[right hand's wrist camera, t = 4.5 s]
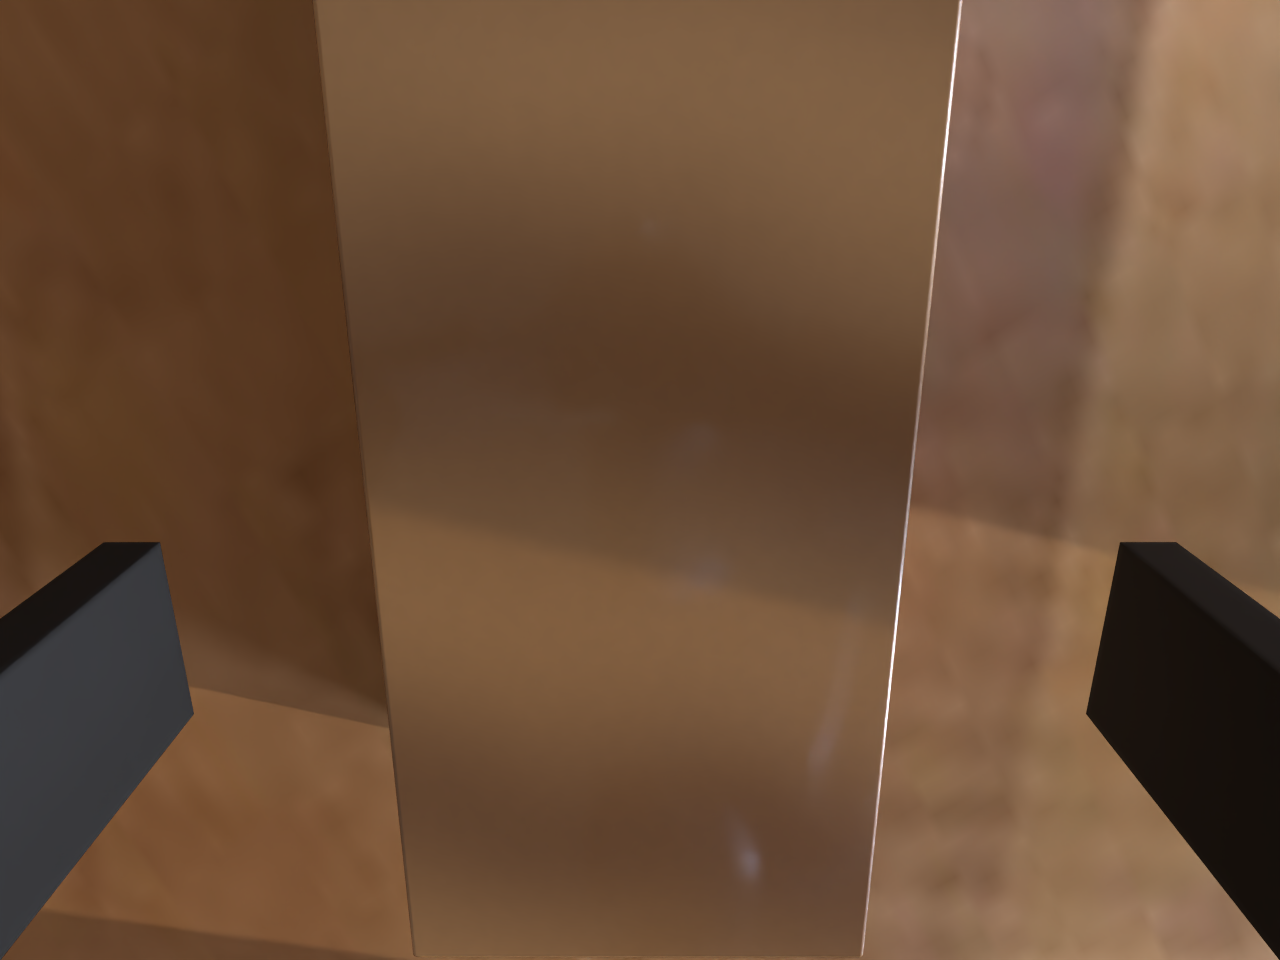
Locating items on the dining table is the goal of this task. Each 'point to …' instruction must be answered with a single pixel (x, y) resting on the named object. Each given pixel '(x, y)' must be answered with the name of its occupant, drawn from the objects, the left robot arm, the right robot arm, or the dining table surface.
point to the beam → (637, 449)
